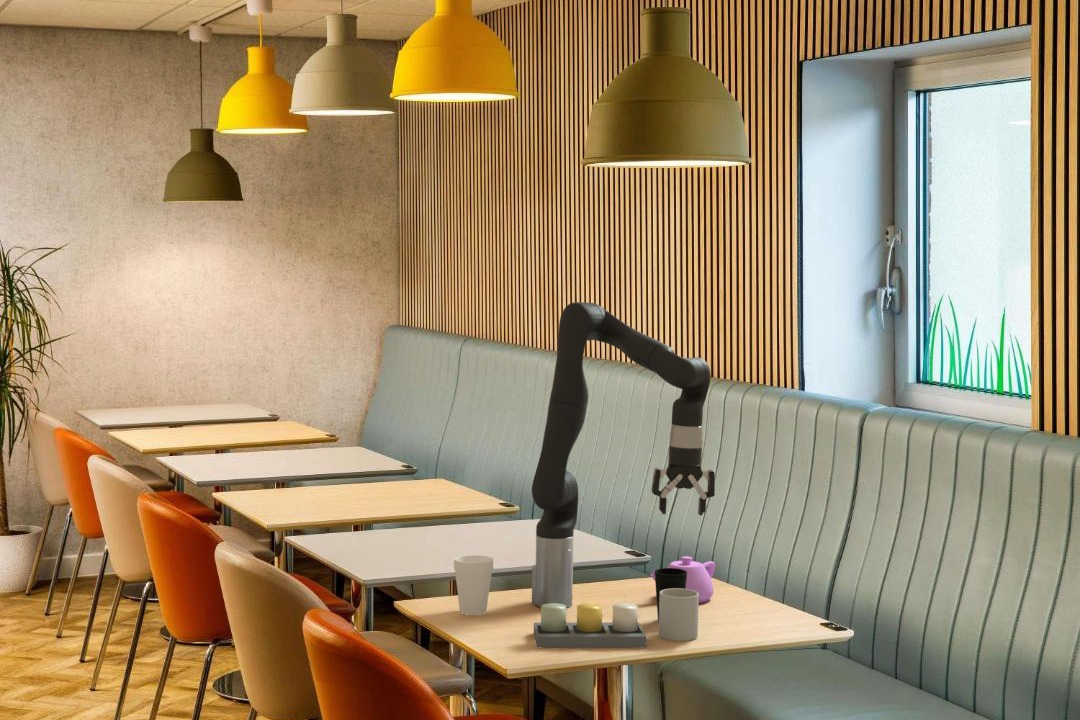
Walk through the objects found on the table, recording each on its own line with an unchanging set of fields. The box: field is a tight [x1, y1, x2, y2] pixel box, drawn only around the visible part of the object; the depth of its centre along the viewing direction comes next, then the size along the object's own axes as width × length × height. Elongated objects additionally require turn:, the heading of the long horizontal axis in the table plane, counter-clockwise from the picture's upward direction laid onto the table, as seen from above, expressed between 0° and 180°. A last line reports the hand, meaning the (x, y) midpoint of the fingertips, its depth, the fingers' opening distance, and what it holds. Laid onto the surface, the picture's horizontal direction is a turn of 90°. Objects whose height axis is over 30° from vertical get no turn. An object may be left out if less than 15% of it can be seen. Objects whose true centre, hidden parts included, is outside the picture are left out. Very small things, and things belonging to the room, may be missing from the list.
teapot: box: [650, 555, 716, 604], centre depth 346 cm, size 14×20×11 cm
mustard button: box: [576, 602, 603, 632], centre depth 305 cm, size 6×6×5 cm
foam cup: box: [453, 554, 494, 616], centre depth 329 cm, size 10×9×13 cm
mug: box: [658, 588, 700, 642], centre depth 311 cm, size 11×10×10 cm
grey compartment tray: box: [533, 621, 647, 649], centre depth 305 cm, size 24×12×2 cm, turn 94°
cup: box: [654, 567, 687, 623], centre depth 323 cm, size 8×8×12 cm
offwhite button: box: [612, 602, 639, 632], centre depth 306 cm, size 6×6×5 cm
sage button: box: [540, 603, 567, 632], centre depth 305 cm, size 6×6×5 cm
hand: (681, 514), depth 315 cm, fingers open, 8 cm apart
